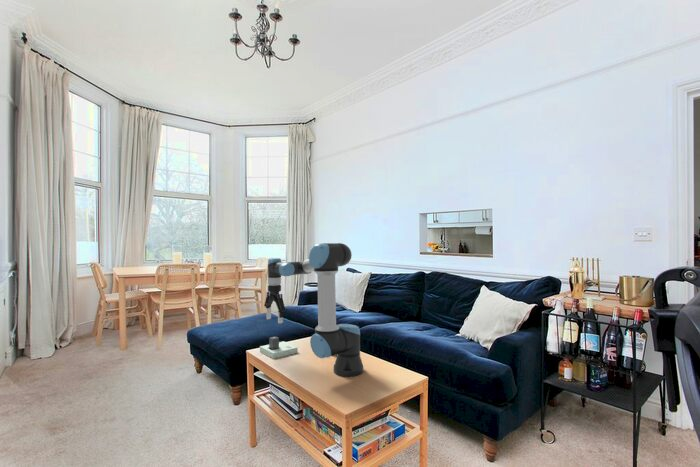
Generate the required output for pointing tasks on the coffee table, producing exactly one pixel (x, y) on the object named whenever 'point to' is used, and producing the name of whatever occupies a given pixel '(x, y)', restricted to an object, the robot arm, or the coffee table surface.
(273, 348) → the charger block
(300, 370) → the coffee table surface
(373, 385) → the coffee table surface
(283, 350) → the outlet plate
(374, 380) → the coffee table surface
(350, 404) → the coffee table surface
